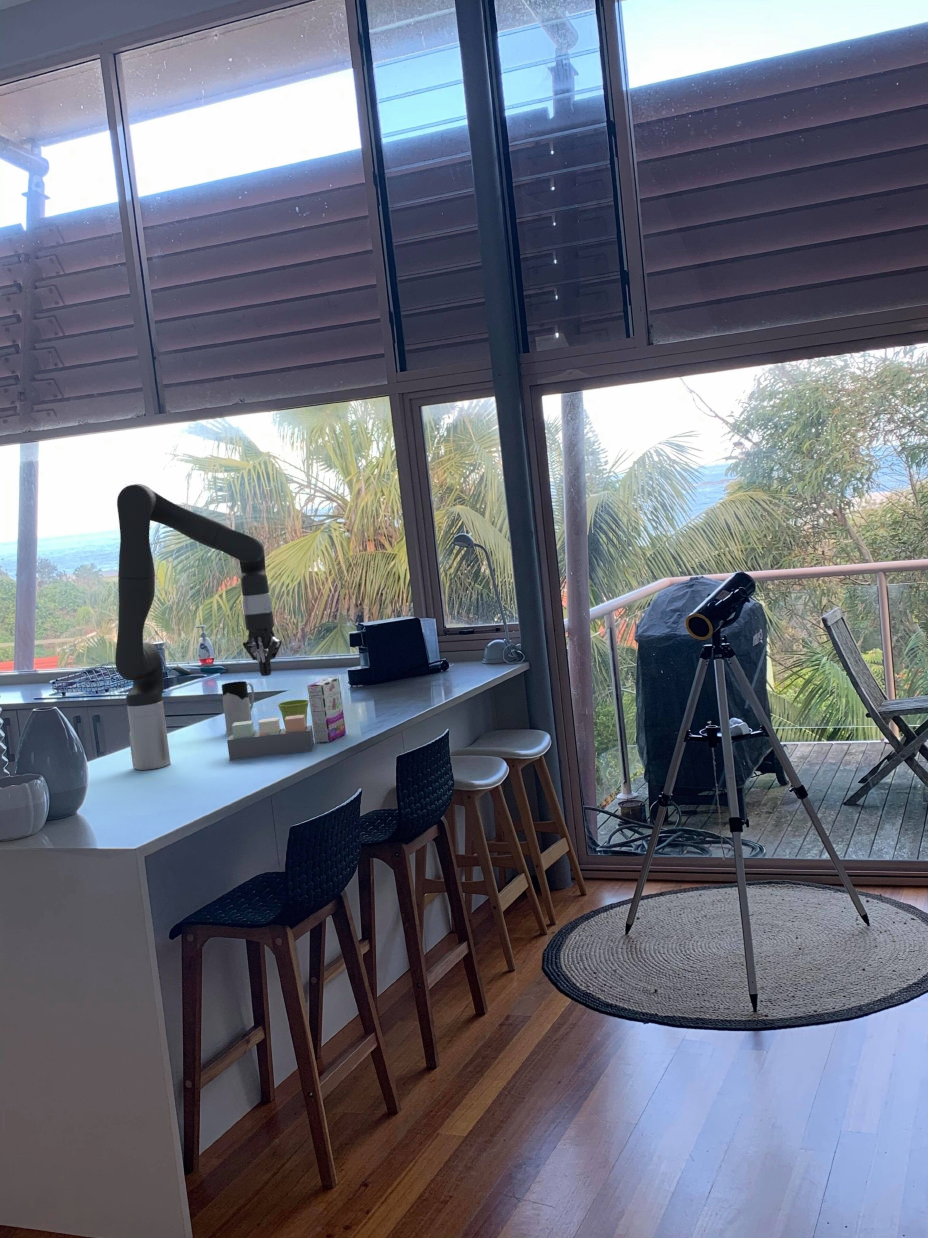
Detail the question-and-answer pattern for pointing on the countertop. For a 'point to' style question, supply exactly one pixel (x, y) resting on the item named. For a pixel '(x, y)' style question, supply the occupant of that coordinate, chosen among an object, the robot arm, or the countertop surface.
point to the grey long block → (270, 744)
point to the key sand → (269, 726)
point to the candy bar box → (326, 710)
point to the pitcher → (236, 703)
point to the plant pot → (294, 708)
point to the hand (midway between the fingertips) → (266, 675)
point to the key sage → (243, 729)
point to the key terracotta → (295, 723)
